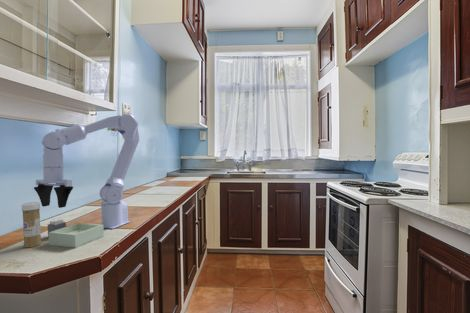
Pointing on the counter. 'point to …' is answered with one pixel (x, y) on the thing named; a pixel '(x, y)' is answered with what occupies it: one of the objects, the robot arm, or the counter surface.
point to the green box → (76, 235)
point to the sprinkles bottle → (31, 224)
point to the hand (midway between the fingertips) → (53, 206)
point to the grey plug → (56, 225)
